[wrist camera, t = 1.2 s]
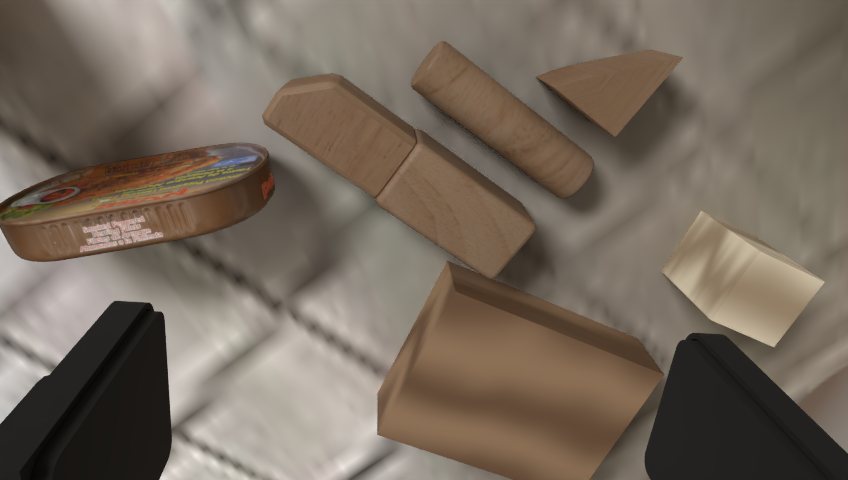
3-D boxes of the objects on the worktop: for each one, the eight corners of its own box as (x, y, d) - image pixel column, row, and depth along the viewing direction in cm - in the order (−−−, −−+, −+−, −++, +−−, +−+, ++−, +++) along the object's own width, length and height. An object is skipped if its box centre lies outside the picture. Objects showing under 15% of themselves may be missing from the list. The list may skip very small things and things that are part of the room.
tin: (277, 134, 38) (250, 171, 30) (289, 181, 39) (267, 229, 31) (39, 174, 38) (-49, 221, 30) (58, 220, 39) (-22, 278, 31)
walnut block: (446, 258, 42) (455, 291, 38) (635, 335, 46) (664, 374, 41) (377, 390, 46) (377, 434, 41) (556, 452, 50) (574, 499, 45)
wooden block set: (506, 298, 37) (251, 129, 32) (491, 260, 43) (269, 109, 38) (704, 72, 33) (442, -167, 28) (660, 60, 38) (432, -143, 33)
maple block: (701, 210, 42) (760, 251, 35) (757, 237, 43) (824, 281, 36) (661, 270, 43) (710, 320, 37) (716, 295, 44) (773, 347, 38)
